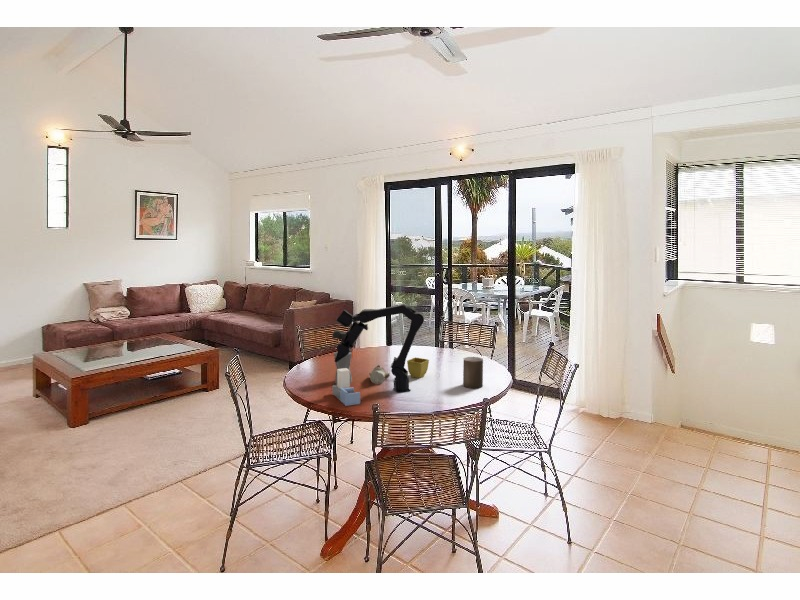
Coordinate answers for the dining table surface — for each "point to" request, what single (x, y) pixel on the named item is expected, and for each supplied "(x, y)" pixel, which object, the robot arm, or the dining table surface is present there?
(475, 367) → the pillar candle
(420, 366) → the flower pot
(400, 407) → the dining table surface
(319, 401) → the dining table surface
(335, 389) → the blue open box
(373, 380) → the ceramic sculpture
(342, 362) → the coffeepot
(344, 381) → the plug post
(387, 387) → the dining table surface
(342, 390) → the light blue notched block
